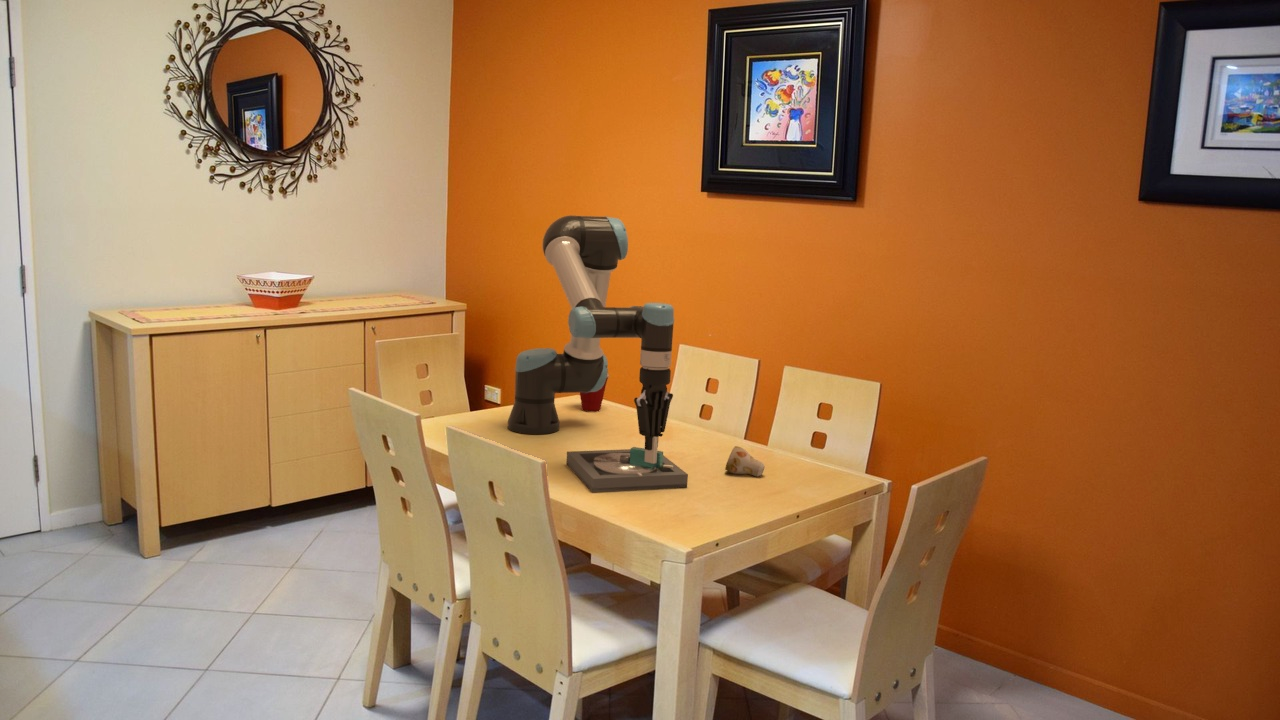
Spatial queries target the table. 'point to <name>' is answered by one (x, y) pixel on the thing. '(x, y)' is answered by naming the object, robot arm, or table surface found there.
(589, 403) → the plastic cup
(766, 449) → the table surface
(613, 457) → the dial
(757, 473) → the beige spotted tapered lump
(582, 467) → the housing
